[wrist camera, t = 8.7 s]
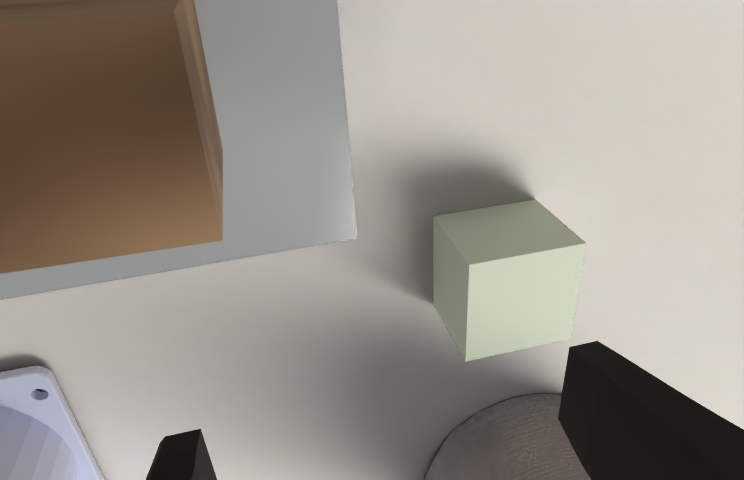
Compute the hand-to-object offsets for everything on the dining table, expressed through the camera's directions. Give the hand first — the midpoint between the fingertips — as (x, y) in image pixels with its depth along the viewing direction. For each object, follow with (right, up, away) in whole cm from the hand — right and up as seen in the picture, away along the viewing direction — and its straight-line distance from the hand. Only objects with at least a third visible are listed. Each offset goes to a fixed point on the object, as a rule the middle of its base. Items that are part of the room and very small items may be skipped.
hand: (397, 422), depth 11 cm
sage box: (+4, +3, +11) cm, 12 cm away
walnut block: (-7, +8, +4) cm, 11 cm away
